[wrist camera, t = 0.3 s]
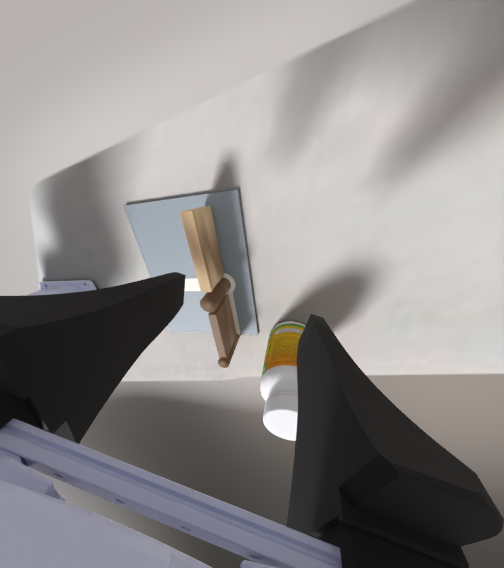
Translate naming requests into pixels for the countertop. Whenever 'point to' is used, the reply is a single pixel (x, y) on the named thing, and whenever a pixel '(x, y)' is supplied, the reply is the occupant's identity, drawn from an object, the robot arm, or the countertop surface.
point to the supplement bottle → (281, 380)
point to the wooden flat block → (203, 246)
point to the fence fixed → (221, 321)
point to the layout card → (177, 258)
